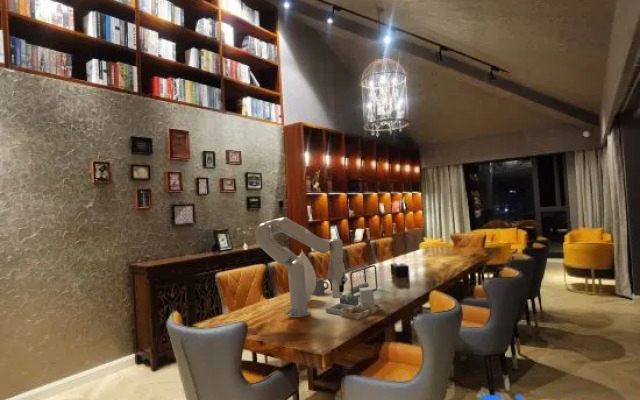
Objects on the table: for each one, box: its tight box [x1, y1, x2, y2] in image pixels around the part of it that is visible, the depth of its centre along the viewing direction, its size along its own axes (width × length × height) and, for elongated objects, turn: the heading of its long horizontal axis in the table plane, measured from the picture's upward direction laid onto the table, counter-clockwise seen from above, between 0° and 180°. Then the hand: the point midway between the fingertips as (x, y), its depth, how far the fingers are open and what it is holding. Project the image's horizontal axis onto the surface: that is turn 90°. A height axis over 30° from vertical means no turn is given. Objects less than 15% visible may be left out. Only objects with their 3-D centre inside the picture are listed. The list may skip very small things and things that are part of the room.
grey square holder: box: [339, 295, 360, 306], centre depth 247 cm, size 8×8×5 cm
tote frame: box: [325, 302, 355, 316], centre depth 236 cm, size 12×12×2 cm
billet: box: [331, 279, 344, 299], centre depth 236 cm, size 6×6×13 cm
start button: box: [344, 293, 352, 299], centre depth 247 cm, size 4×4×6 cm
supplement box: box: [358, 286, 375, 309], centre depth 234 cm, size 7×7×13 cm
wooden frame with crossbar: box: [340, 303, 383, 320], centre depth 230 cm, size 23×12×2 cm, turn 137°
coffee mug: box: [311, 277, 330, 296], centre depth 288 cm, size 13×10×10 cm
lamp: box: [298, 250, 317, 302], centre depth 269 cm, size 16×16×35 cm
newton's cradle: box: [343, 263, 378, 298], centre depth 278 cm, size 30×10×18 cm, turn 139°
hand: (337, 290), depth 236 cm, fingers closed on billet, 6 cm apart
